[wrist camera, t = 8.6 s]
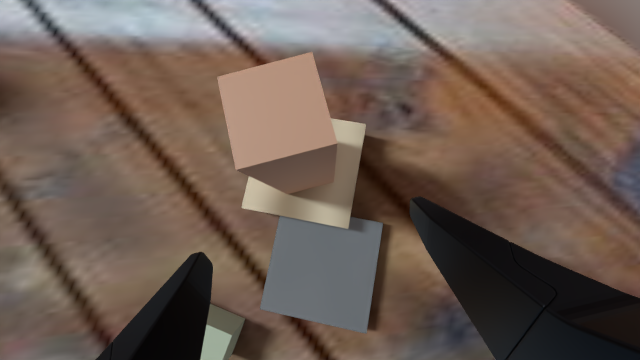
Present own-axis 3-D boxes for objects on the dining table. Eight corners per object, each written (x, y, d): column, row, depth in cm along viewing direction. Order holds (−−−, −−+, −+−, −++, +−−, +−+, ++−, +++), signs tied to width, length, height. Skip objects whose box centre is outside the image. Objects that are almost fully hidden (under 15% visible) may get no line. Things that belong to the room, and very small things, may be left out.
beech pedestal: (362, 134, 22) (366, 124, 20) (346, 227, 21) (348, 228, 18) (272, 119, 23) (265, 107, 20) (251, 208, 22) (241, 207, 19)
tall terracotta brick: (333, 182, 19) (337, 143, 9) (287, 194, 19) (236, 169, 9) (321, 137, 20) (312, 51, 9) (276, 149, 20) (217, 76, 9)
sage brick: (246, 317, 20) (231, 335, 17) (233, 352, 20) (216, 376, 17) (186, 292, 21) (162, 305, 18) (172, 325, 21) (146, 344, 18)
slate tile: (380, 222, 21) (383, 222, 20) (364, 327, 20) (366, 333, 19) (284, 204, 21) (282, 203, 20) (263, 304, 20) (259, 309, 19)
